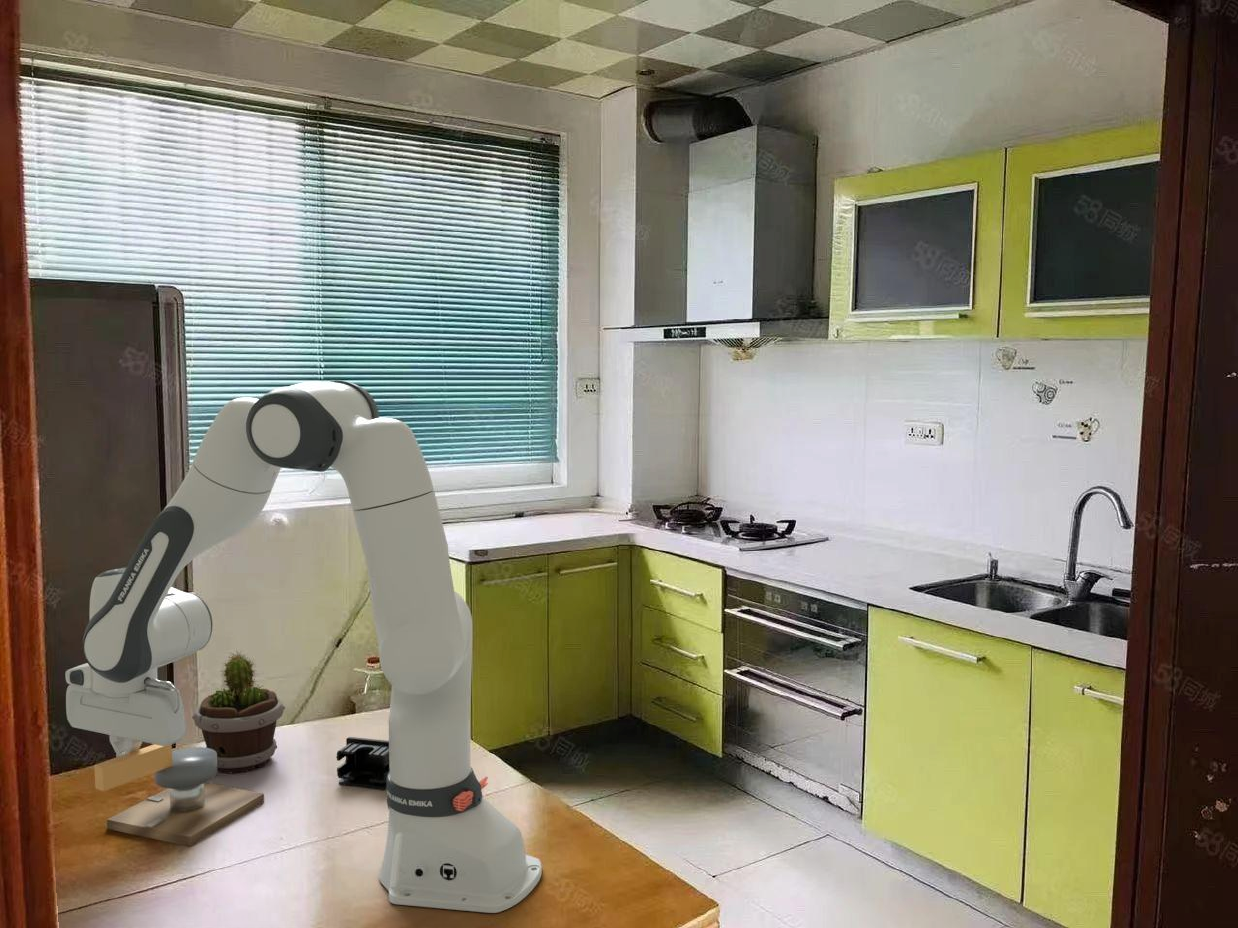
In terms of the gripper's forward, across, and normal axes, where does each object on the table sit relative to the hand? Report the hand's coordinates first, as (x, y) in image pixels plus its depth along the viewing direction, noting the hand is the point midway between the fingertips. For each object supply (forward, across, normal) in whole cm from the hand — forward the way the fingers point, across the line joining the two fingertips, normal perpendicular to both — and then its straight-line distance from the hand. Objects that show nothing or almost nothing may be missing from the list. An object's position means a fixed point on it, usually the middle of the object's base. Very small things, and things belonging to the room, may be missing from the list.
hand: (127, 763), depth 150 cm
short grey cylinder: (+9, -4, -7) cm, 12 cm away
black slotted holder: (+10, -23, -30) cm, 39 cm away
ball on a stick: (+4, -3, -3) cm, 6 cm away
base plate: (+11, -4, -8) cm, 14 cm away
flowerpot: (+11, +3, -27) cm, 30 cm away
